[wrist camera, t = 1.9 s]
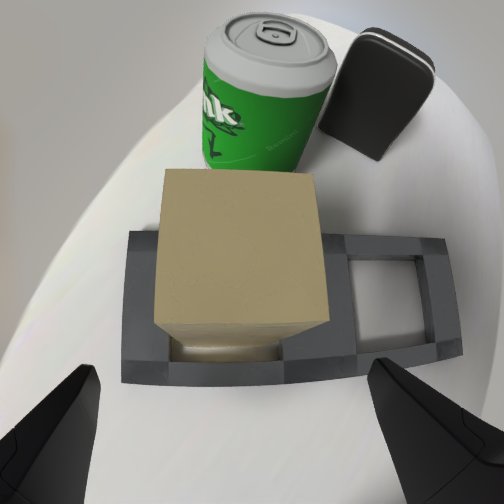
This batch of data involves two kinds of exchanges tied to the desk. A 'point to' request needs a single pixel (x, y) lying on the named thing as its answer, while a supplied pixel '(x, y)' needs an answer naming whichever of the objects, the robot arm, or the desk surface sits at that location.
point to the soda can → (263, 91)
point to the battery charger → (377, 92)
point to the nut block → (239, 257)
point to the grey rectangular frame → (304, 343)
